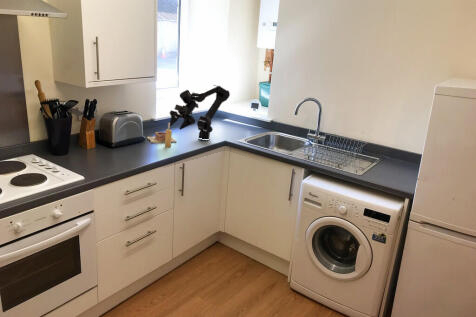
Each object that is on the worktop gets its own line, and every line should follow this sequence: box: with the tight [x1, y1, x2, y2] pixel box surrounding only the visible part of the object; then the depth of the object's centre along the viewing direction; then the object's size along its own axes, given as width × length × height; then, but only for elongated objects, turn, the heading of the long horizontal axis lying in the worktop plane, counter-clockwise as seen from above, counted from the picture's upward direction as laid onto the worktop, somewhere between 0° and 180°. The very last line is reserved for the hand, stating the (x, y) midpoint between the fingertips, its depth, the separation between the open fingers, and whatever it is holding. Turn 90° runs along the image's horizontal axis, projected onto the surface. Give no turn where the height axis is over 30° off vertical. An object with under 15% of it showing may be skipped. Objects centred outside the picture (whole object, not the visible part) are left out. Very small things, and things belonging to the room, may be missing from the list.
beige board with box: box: [147, 131, 177, 144], centre depth 258 cm, size 16×12×4 cm
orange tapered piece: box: [164, 122, 173, 148], centre depth 244 cm, size 4×4×15 cm
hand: (174, 127), depth 246 cm, fingers open, 9 cm apart
